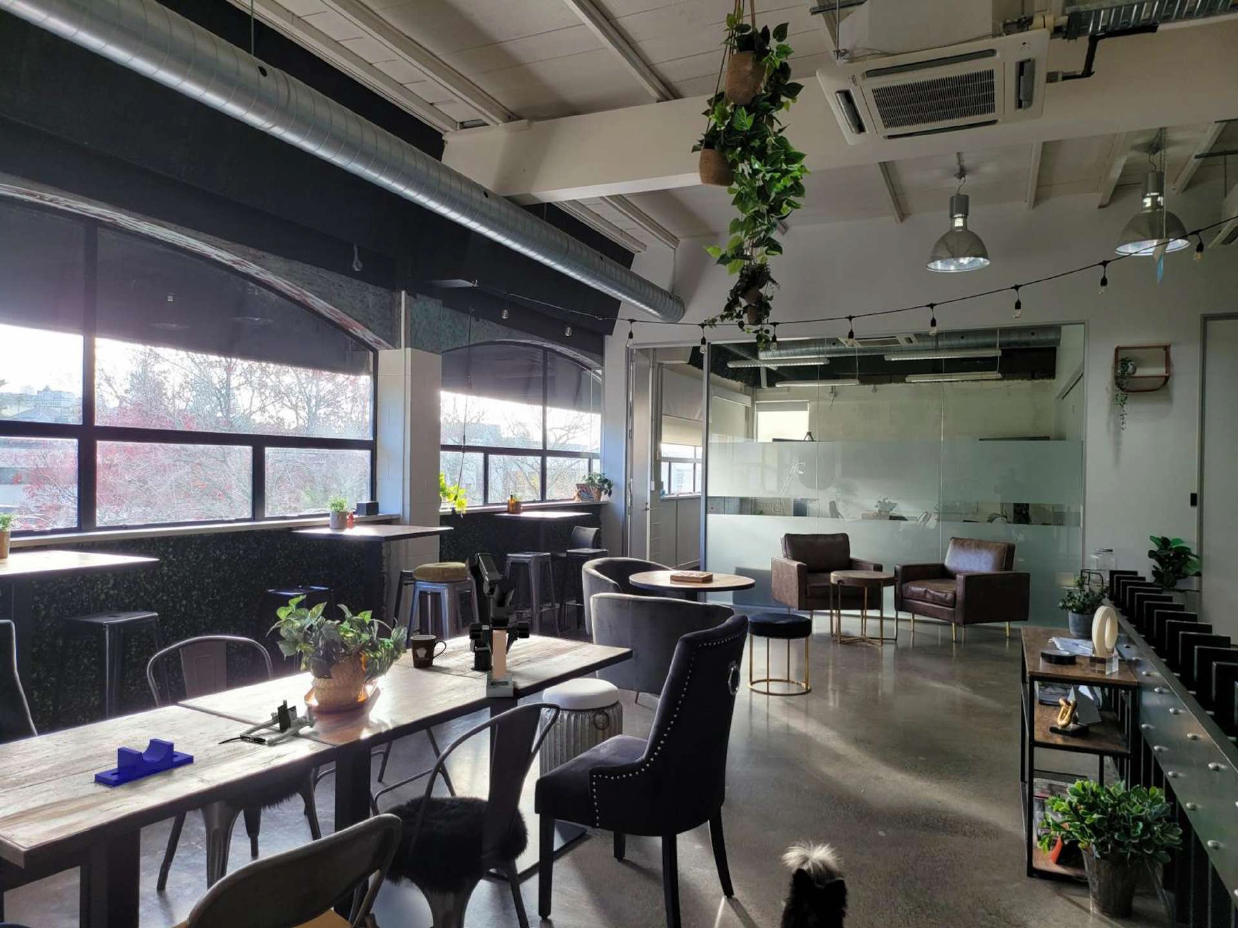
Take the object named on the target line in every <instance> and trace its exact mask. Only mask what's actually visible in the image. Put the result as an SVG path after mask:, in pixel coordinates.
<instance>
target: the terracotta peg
mask: <svg viewBox="0 0 1238 928" xmlns="http://www.w3.org/2000/svg"><path fill="white" fill-rule="evenodd" d="M506 646H507V634H506V630H493V655H492V666H493V669H492V673H493V679H506V673H507V654H506Z"/></svg>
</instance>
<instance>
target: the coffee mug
mask: <svg viewBox="0 0 1238 928" xmlns="http://www.w3.org/2000/svg"><path fill="white" fill-rule="evenodd" d="M436 640H437V636H436V635H430V634H423V635H422V634H421V635H420V634H418V635H413V636H410V646H411V655H412V663H413V664H412V665H413V668H415V669H429V668H432V667H433V666H434V665H433V664H434V660H435V658H437V657H438V656H440V655H442V654H443V652H445V651H446V650H447V643H446V641H444V640H438V641H436ZM439 643H442V644H444V649H442V651H441V652H438V654H437V653H436V655H434V654H435V648H436V646H437V645H438V644H439Z"/></svg>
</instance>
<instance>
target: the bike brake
mask: <svg viewBox="0 0 1238 928" xmlns="http://www.w3.org/2000/svg"><path fill="white" fill-rule="evenodd" d="M307 714H308V716H307V715H306V714H305V715H304V714H303V715H301V716H298V711H297V705H293V706H291V707H288V700H287V699H283V700H282V705H280V706H277V711H275V712H271V714H270V716H271V719H269V720H267V721H264V722H262V723H259V724H257V725H255V726H252V727H251V728H249V729H246V730H245V731H243V732H242V733H240V734H239V736H237V737H231V738H229V739H225V740H223V741H221V742H218V743H217V744H218V745H222V744H225V743H228V742H232V741H236V740H243V741H247V742H252V743H253V742H254V743H259V744H265V743H267V744H266V745H267V746H273V745H275V744H278V743H279V742H281V741H284V740H286V739H287V738H289V737H291V736H292V735H294V734H295V733H297V732H299V731H300V730H302V729H303V728H306V727H309V728H310V729H313V728H315V727H314V726H315V725H316V723H317V722H318V719H317V716H314V715H313V706H312V704H308V705H307ZM307 717H308V718H307ZM277 724H278V725H279V726H278V727H279V731H280V732H283V731H285V732H283V733H281V734H279V735H277V736H275V737H273V738H269V739H267V740H266V738H263V737H259V736H258V737H257V736H255V735H252V734H253V733H255V732H258V731H261V730H263V729H264V730H265V729H267V728H271V727H273V726H276V725H277Z"/></svg>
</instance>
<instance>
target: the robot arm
mask: <svg viewBox="0 0 1238 928" xmlns="http://www.w3.org/2000/svg"><path fill="white" fill-rule="evenodd" d="M492 559H493V558H492V554H491V553H489V552H482V553H481V552H479V553H476V554H475V555H472V556H470V557H468V558H467V559H466V560H465V563H464V568H465V572H466V576H467V578H468V579H469V580H470V581H471V582H472V586H473V598H474V607H475V616H476V618H475V620H476V622H470V623H469V625H468V632H469V633H468V637H469V640H470V642H469V651H470V652H471V653H473V654H474V657H473V660H474V661H473V663H474V664H473V665H474V666H472V667H470V670H472V671H482V672H487V671H490V670H493V630H506V635H507V638H506V655H508V654H509V652H510V649H511V647H512V645H513V644H514V642H517V641H518V640H519V639H521V640H522V639H524V640H525V639H527V640H528V639H530V638H531V637H530V636H531V634H530V633H531V622H529V621H517V622H516V623H517V624H516V625H517V626H511V625H510V618H511V617H512V618H513V617H514V615H515V613H514V612H515V611H514V609H515V608H514V607H515V606H514V605H510V604H509V603H510V601H511V600H512V597H513V595H514V591H515V588H516V584H515V582H514V581H513V580H511V579H510V578H508V576H507V575H503V574H501V573H499V572H498V571H497V568H496V566H495V564H494V562H493V560H492ZM488 597H491V598H490V607H489V598H488ZM489 608H490V609H489Z"/></svg>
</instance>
